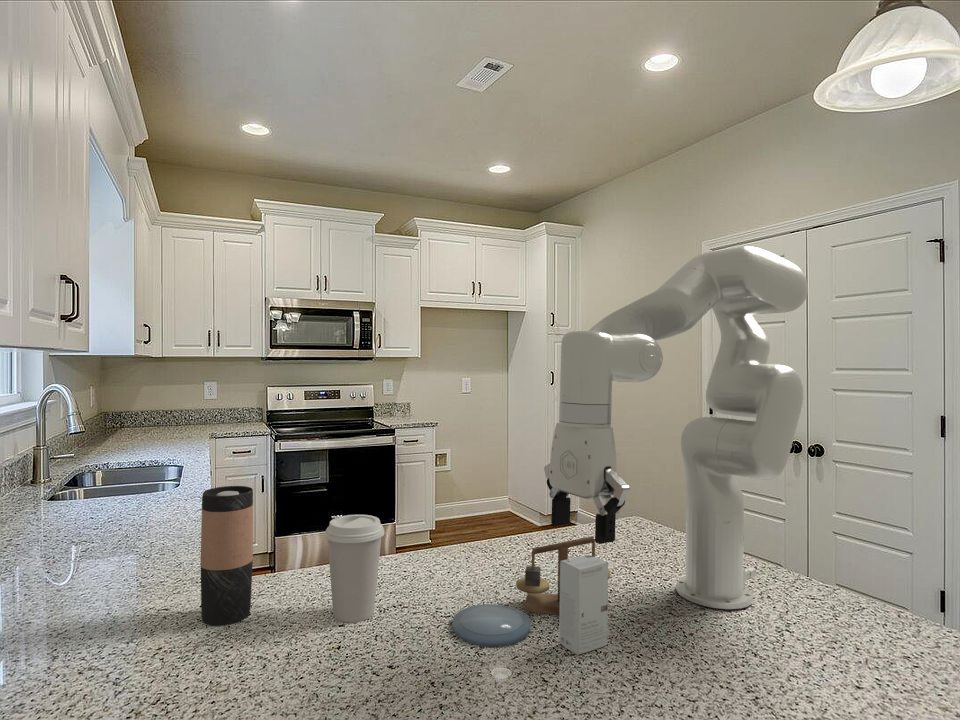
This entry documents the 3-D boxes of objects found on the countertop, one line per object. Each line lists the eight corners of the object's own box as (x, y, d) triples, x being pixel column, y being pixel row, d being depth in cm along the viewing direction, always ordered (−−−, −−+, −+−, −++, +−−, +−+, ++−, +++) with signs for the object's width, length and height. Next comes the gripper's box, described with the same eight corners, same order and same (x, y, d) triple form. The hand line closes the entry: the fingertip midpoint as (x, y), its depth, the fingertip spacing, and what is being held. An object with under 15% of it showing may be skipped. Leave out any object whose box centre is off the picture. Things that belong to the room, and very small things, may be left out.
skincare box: (578, 656, 80) (579, 570, 80) (557, 643, 83) (558, 560, 83) (609, 644, 83) (610, 561, 83) (587, 632, 87) (588, 553, 87)
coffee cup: (362, 596, 99) (363, 510, 99) (395, 614, 92) (396, 521, 92) (312, 612, 92) (313, 520, 93) (343, 633, 86) (344, 533, 86)
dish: (502, 604, 96) (502, 597, 96) (546, 634, 86) (546, 626, 86) (439, 620, 90) (439, 613, 90) (477, 654, 80) (477, 646, 80)
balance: (609, 604, 97) (609, 532, 97) (611, 619, 91) (612, 542, 91) (517, 597, 99) (518, 527, 99) (514, 611, 94) (515, 536, 94)
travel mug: (262, 609, 93) (264, 487, 93) (227, 630, 86) (229, 498, 86) (225, 602, 96) (226, 484, 96) (188, 622, 89) (190, 493, 89)
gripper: (529, 411, 89) (526, 521, 89) (607, 421, 74) (603, 554, 74) (567, 410, 93) (564, 516, 92) (648, 420, 78) (645, 546, 78)
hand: (581, 533), depth 83 cm, fingers open, 9 cm apart
